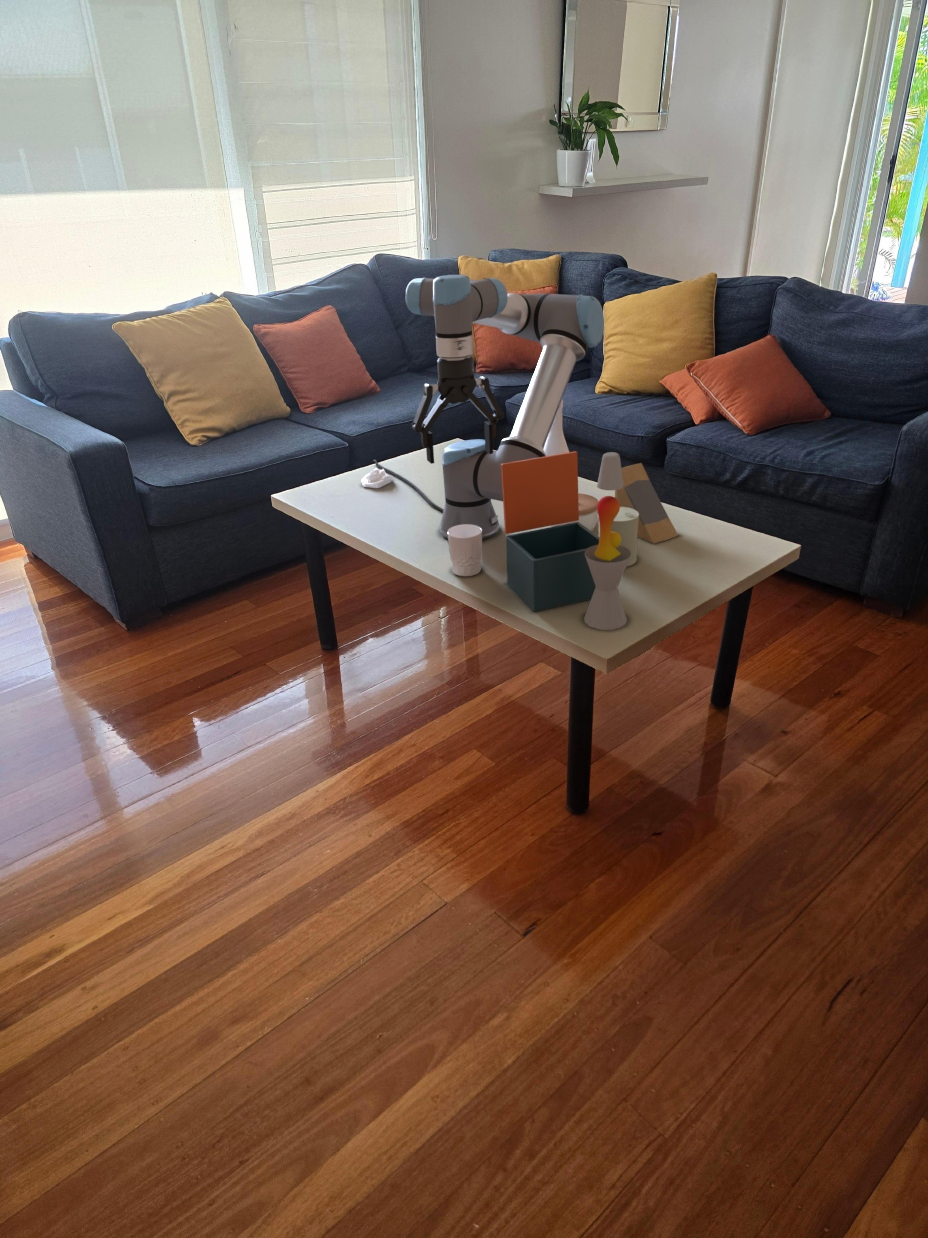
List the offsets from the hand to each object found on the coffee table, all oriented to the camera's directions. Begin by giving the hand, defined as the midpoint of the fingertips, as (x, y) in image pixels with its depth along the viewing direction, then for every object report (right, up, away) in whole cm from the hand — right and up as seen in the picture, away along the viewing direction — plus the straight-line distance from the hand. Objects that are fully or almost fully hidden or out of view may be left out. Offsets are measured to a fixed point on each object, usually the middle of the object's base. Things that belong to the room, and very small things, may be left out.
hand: (460, 457), depth 181 cm
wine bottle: (+26, -6, +44) cm, 51 cm away
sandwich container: (+47, -13, +29) cm, 56 cm away
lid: (+18, -8, -1) cm, 19 cm away
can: (+37, -21, +15) cm, 45 cm away
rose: (-25, +5, +70) cm, 74 cm away
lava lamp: (+30, -36, -10) cm, 48 cm away
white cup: (+1, -24, +13) cm, 28 cm away
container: (+21, -29, +3) cm, 36 cm away
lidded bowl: (+28, -15, +28) cm, 42 cm away
